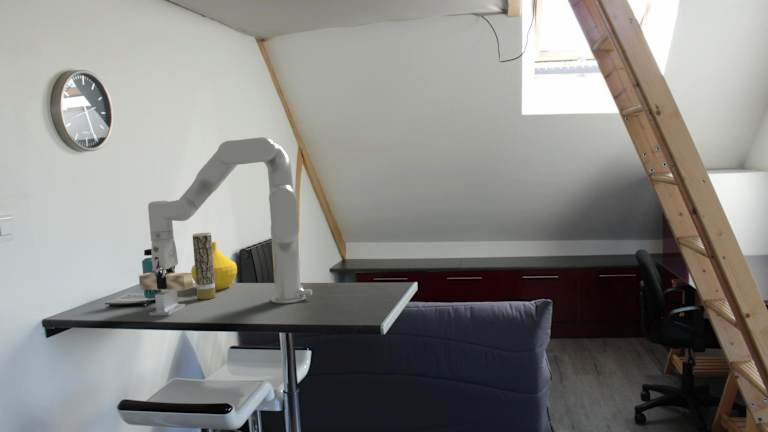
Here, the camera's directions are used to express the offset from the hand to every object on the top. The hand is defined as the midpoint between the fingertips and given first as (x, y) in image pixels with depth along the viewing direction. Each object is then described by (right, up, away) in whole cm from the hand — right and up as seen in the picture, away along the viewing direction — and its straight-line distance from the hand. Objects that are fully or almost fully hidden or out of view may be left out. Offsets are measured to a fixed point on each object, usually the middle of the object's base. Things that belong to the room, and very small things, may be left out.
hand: (166, 286), depth 207 cm
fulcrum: (0, -9, +1) cm, 9 cm away
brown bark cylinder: (+9, -7, +19) cm, 22 cm away
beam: (0, -1, 0) cm, 1 cm away
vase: (+7, -5, +37) cm, 38 cm away
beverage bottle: (-12, -8, +18) cm, 23 cm away
